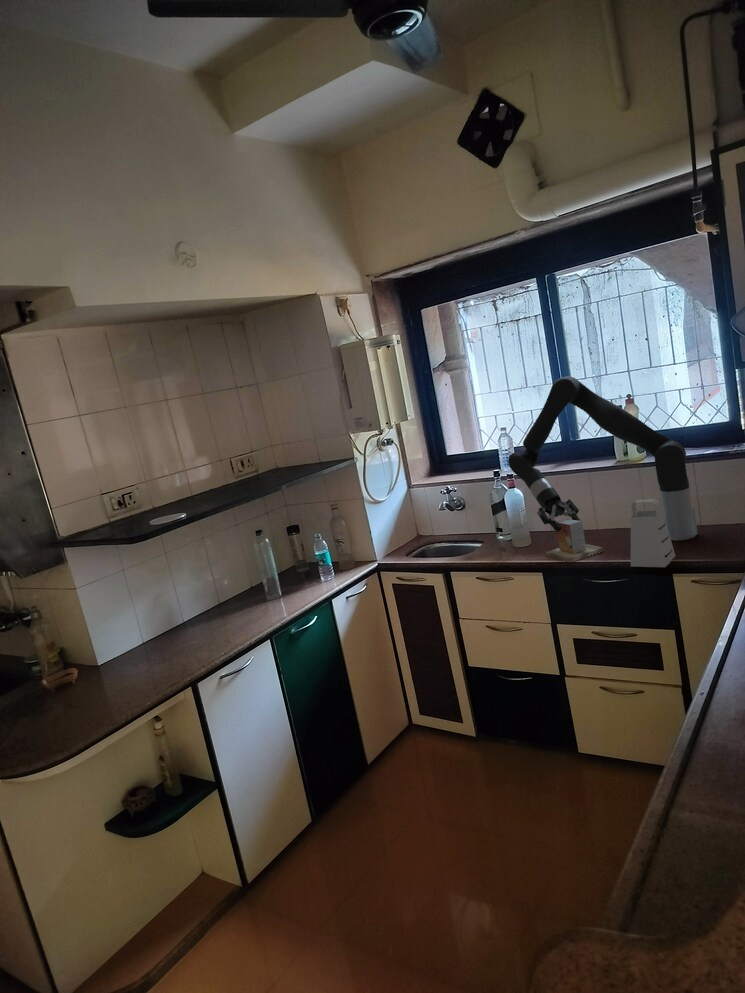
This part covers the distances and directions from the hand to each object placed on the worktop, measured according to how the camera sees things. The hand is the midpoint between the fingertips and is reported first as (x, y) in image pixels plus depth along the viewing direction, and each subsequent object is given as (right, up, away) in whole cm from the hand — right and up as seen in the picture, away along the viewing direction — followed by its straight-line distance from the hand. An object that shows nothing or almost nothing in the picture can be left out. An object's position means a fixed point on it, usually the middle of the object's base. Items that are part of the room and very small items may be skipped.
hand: (569, 527), depth 234 cm
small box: (+2, -8, +1) cm, 8 cm away
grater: (+20, -10, -23) cm, 32 cm away
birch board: (+2, -9, +1) cm, 10 cm away
